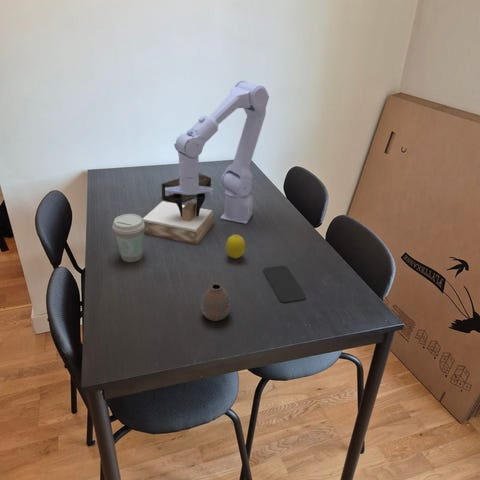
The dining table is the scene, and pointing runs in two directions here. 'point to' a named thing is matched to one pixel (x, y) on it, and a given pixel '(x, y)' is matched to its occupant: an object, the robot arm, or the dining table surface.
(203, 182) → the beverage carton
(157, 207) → the lid
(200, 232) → the box
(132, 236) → the coffee cup
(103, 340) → the dining table surface
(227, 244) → the lemon
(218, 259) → the dining table surface
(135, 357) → the dining table surface
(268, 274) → the phone
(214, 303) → the vase
